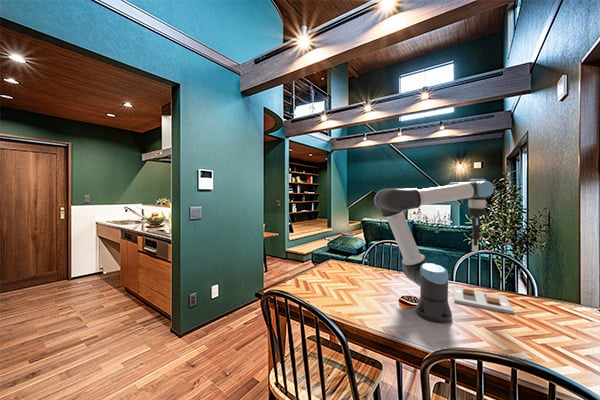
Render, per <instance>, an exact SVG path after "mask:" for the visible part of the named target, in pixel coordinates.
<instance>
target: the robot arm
mask: <svg viewBox="0 0 600 400" xmlns="http://www.w3.org/2000/svg"><path fill="white" fill-rule="evenodd" d="M494 191H495V188H494V184H493V183H492V182H490V181H489V180H487V179H484V178H471V179H469V181H462V182H461V181H460V182H459V181H458V182H456V181H454V182H453V181H452V182H448V184H447V185H444V186H436V187H428V188H422V189H418V188H417V187H415V188H413V187H412V188H394V187H393V188H383V189H381V190H378V191H377V192H376V194H375V196H374V199H373V201H374V205H375V207H376V208H377V209H378V210H379V211H380V213H381V215H382V217H383V218H384V219H387V222H388V225H389V226H390V227H389V228H390V229H391V231H392V234H393V237H394V239H395V241H396V244H397V245H398V248H399V251H400V253H401V255H402V260H401V263H402V272H403V274H404V275H405V276H406V278H407V279H408V280H410V281H411V282H413V283H415V284H416V285H417V286H419V287H420V288H419V289H420V293H419V294H420V295H419V299H418V301H417V304H416V306H415V311H416V312H415V313H416V314H417V315H418V316H419V317H421V318H422V319H424V320H427V321H429V322H432V323H437V324H446V323H450V322H451V321H452V319H453V313H452V310H451V307H450V303H449V301H448V300H449V299H448V298H449V279H450V278H449V273H448V270H447V269H446V268H445V267H443V266H442V265H439V264H436V263H430V262H429V263H428V262H427V260H426V256H425V255H424V254H422V253H420V251H419V248H418V246H417V243H416V241H415V239H414V236H413V233H412V231H411V229H410V227H409V224H408V222H407V221H408V220H407V219H406V217H405V214H404V212H405V211H409V210H414V209H420V207H421V206H424V205H425V206H427V205H431V204H432V205H433V204H440V203H446V202H451V201H459V200H467V199H468V201H467V204H468V205H467V206H468V209H467V215H469V216H473V217H471V227H472V235H471V238H470V239H471V252H475V253H476V252H477V253H478V252H479V242H480V241H479V240H480V239H481V238H480V228H481V222H482V218H480V216H486V206H487V204H488V202H487V200H486V199H487V198H488V197H490V196H492V194H494ZM486 197H487V198H486Z"/></svg>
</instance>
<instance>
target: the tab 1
mask: <svg viewBox="0 0 600 400" xmlns="http://www.w3.org/2000/svg"><path fill="white" fill-rule="evenodd" d="M462 288H463V293H468V294H473V295H474V291H475V289H474V288H473V287H472V288H471V287H466V286H462Z"/></svg>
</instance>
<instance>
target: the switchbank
mask: <svg viewBox="0 0 600 400" xmlns="http://www.w3.org/2000/svg"><path fill="white" fill-rule="evenodd" d="M486 295H491V296H497V297H499V299H500V303H493V302H488V301H487V299H486ZM453 297H454V299H453V301H454V302H453V303H456V304H460V305H465V306H471V307H475V308H481V309H485V310H490V309H491V311H495V310H496V312H500V313H501V312H502V313H505V312H506V314H510V313H511V314H512V315H514V313H515V312H514V309H513V307H512V306H511V305H512V304H510V302H509V300H508V298H507V296H506V295H502V294H498V293H497V294H496V293H492V292H486V291H485V292H484V291H481V290H474V295H473V294H468V293H463V287H454V286H453Z"/></svg>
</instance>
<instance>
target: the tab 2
mask: <svg viewBox="0 0 600 400" xmlns="http://www.w3.org/2000/svg"><path fill="white" fill-rule="evenodd" d="M486 299H487V301H488V302H493V303H500V299H499V297H497V296H491V295H486Z"/></svg>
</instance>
